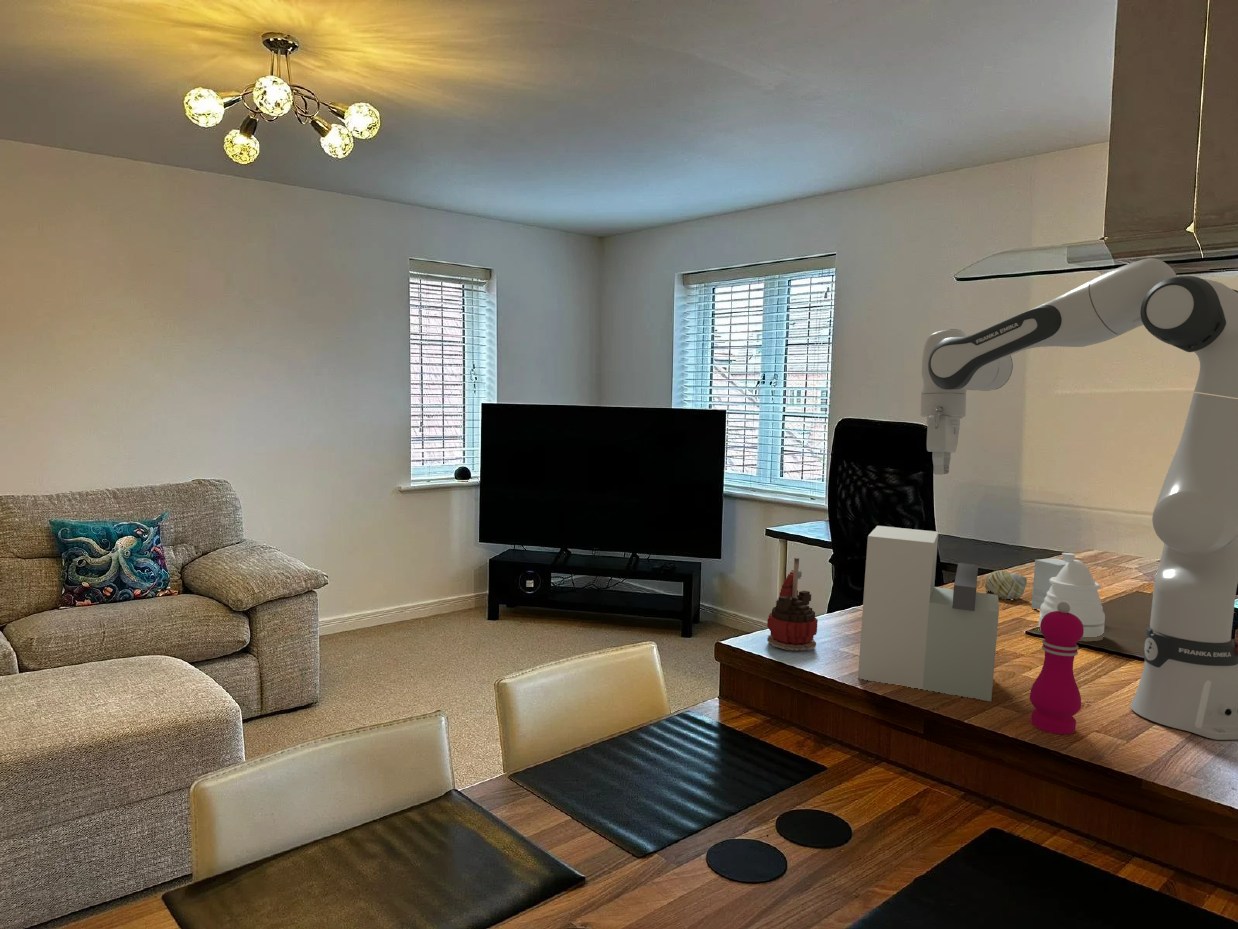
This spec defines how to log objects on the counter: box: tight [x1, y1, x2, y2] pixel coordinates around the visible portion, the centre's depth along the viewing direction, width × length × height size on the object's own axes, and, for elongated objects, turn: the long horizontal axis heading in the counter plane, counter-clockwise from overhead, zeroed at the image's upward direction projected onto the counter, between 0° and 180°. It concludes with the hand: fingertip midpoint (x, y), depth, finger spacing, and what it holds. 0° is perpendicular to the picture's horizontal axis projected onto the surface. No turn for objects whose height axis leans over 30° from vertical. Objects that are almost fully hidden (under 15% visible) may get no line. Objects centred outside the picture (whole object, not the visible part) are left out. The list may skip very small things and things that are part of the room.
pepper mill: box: [1029, 602, 1084, 735], centre depth 132 cm, size 7×7×20 cm
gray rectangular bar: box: [952, 562, 979, 611], centre depth 152 cm, size 22×4×4 cm, turn 156°
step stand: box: [857, 525, 1000, 702], centre depth 153 cm, size 14×22×26 cm, turn 66°
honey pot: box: [1038, 552, 1106, 637], centre depth 189 cm, size 13×13×18 cm
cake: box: [766, 557, 819, 651], centre depth 170 cm, size 11×9×18 cm
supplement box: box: [1031, 558, 1069, 609], centre depth 208 cm, size 7×7×13 cm
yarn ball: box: [984, 570, 1028, 600], centre depth 222 cm, size 10×10×10 cm
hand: (941, 474), depth 178 cm, fingers open, 8 cm apart
